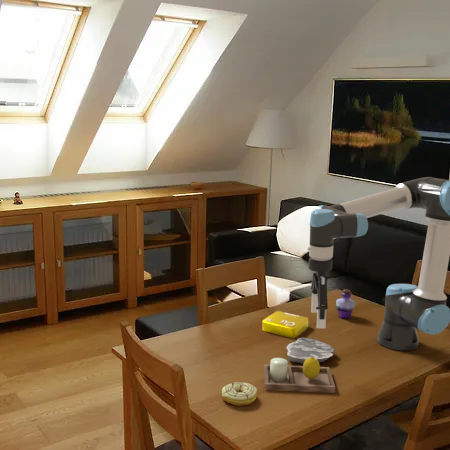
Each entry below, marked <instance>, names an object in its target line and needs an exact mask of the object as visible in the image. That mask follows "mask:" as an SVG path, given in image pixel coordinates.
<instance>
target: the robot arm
mask: <svg viewBox="0 0 450 450" xmlns="http://www.w3.org/2000/svg"><path fill="white" fill-rule="evenodd" d="M414 208H415V209H422V210H423V209H424V210H425V215H424V218H425V219H426V220H427V221H428V225H427V231H426V236H425V237H426V238H425V242H424V243H425V244H424V249H423V253H422V255H423V256H422V261H421V268H420V273H419V280H418V284H417V285H415V284H410V283H392V284H390V285H388V287H387V288H386V293H385V301H384V313H383V322H382V325H381V327H380V328H379V331H378V333H377V337H376V338H377V342H378V345H381V346H383V347H384V348H386V349H391V350H394V351H404V352H406V351H414V350H415V349H417V348H419V341H420V339H419V337H418V331H420V332H421V333H426V334H428V335H438V334H440V333H441V332H443V331H444V330H445V329H446V328H448V326H449V324H450V308H449V306H447V299H448V297H447V295H446V293H444V290H445V283H446V278H447V273H448V267H449V262H450V179H444V178H436V177H433V176H426V177H420V178H416V179H412V180H408V181H407V180H406V181H404V182H401V183H398V184H396V185H395V187H393V188H390V189H386V190H384V191H380V192H376V193H372V194H369V195H365V196H362V197H359V198H356V199H352V200H349V201H345V202H341V203H337V204H334V205H330V206H329V205H323V204H322V205H318V206H317V207H315V208H314V209H313V210H312V211H311V214H310V219H309V220H310V221H309V246H308V247H307V250H308V251H309V253H308V256H309V258H308V269H309V270H310V271H312V279H311V287H310V290H311V303H310V304H311V308H310V312H311V313H313V314H316V329H326V328H327V327H326V324H327V323H326V322H327V310H328V309H329V307H328V276H327V275H326V273H328V272H330V271H332V270H333V257H334V240H335V239H346V238H357V237H362V236H365V235H366V234H367V232H368V230H369V221H368V218H372V217H376V216H380V215H382V214H385V213H390V212H392V211H393V212H394V211H396V210H399V209H402V210H409V209H414ZM417 330H418V331H417Z"/></svg>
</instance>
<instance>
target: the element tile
mask: <svg viewBox="0 0 450 450" xmlns="http://www.w3.org/2000/svg"><path fill="white" fill-rule="evenodd" d="M261 322H262V325H261V326H262V327H261V330H262V331H263V332H266V333H270V334H274V335H278V336H282V337H286V338H290V339H295V338H298V336H300V335H302V334H303V333H304V332H305V331H306V330H308V328H309V317H308V316H304V315H303V316H302V315H298V314H292V313H289V312H286V311H285V312H284V311H281V310H276V311H274V312H273V313H272V314H270V315H268V316H267V317H265V318H264V319H263V320H262V321H261Z"/></svg>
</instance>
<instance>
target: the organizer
mask: <svg viewBox="0 0 450 450" xmlns="http://www.w3.org/2000/svg"><path fill="white" fill-rule="evenodd" d="M263 373H264V374H263V375H264V377H263V378H264V390H265V391H282V392H283V391H284V392H304V393H305V392H307V393H324V394H325V393H330V394H331V393H332V394H336V385H335V382H334V379H333V374H332V371H331V369H330V367H329V366H327V367H326V366H320V372H319V375H318V376H317V377H316V378H314V379H312V380H310V379H309V378H307V377H306V376H305V375H304V373H303V365H288V368H287V380H286V381H285V382H280V383H279V382H274V381H272V380H270V364H263Z"/></svg>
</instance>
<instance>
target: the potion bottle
mask: <svg viewBox="0 0 450 450" xmlns="http://www.w3.org/2000/svg"><path fill="white" fill-rule="evenodd" d="M340 294H341V298H337V299H336V301H335V304H336V305H335V309H336V311H337V312H338V318H340V319H342V320H349V319H352V314H353V311H354V309H355V306H356V301H355V300H353V299H351V297H352V294H353V293H352V292H351V290H350V289H347V288H346V289H343V290H342V291H341V293H340Z"/></svg>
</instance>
